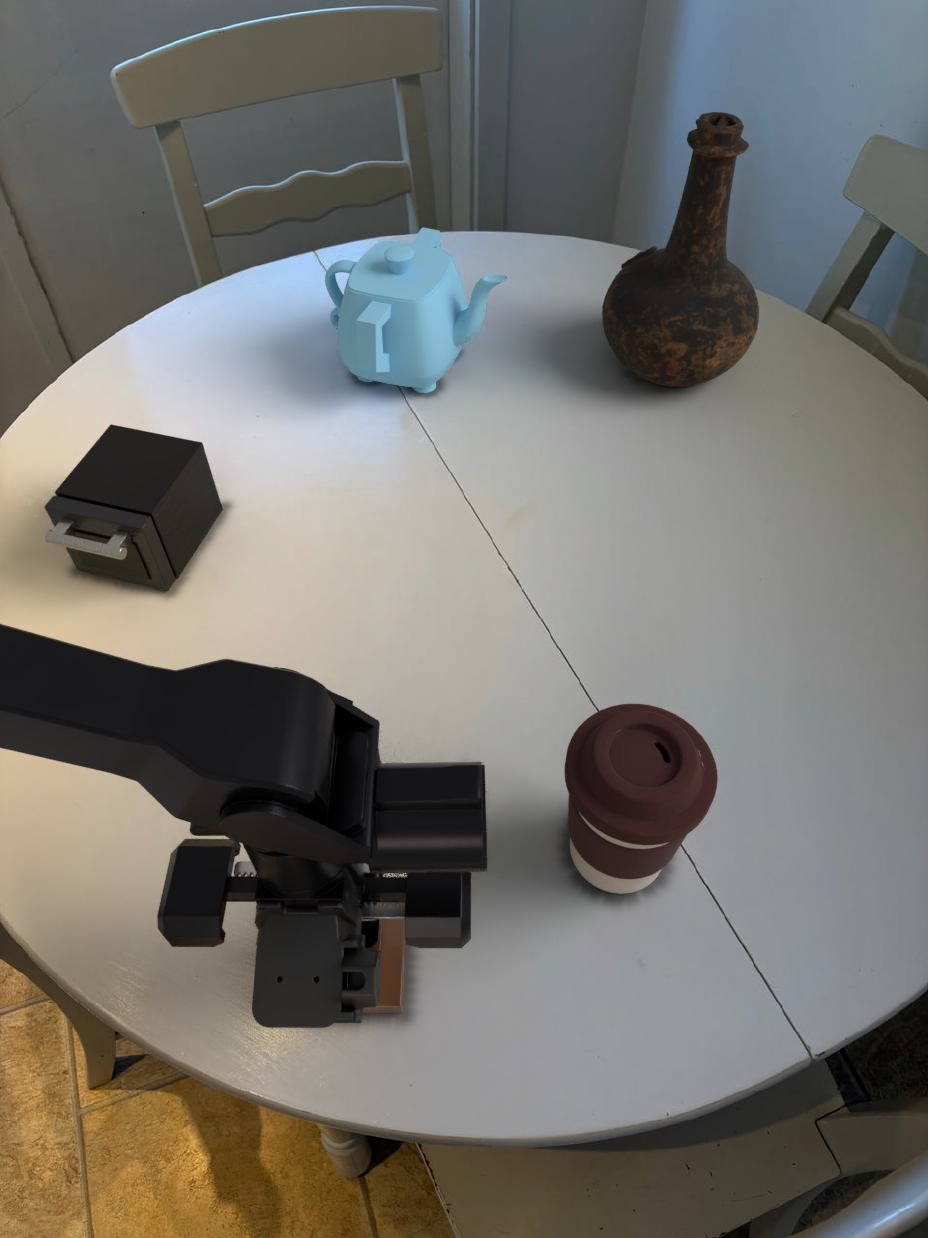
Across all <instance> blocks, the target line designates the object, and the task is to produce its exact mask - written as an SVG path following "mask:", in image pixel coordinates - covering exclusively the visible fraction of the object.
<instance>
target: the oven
mask: <svg viewBox="0 0 928 1238" xmlns="http://www.w3.org/2000/svg"><path fill="white" fill-rule="evenodd" d="M54 494H55V496H58V497H63V498H68V499H72V500H77V501H81V502H86V503H90V504H95V505H100V506H104V507H109V508H113V509H118V510H123V511H127V512H132V513H136V514H141V515H145V516H150V517H151V519H152V522H153V524H154V527H155V529H156V532H157V534H158V537H159V539H160V542H161V544H162V546H163V549H164V551H165V554H166V556H167V559H168V561H169V564H170V566H171V569H172V571H173V574H174V576H175V579H176V580H177V579H179V578H180V577H181V574H182V573H183V572H184V570H185V568H186V567H187V565H188V564H189V562H190V561H191V559H192V558H193V556H194V555H195V553H196V552H197V550H198V549H199V547H200V546H201V544H202V542H203V541H204V539H206V536H207V535H208V533H209V532H210V530H211V528H212V527H213V525H214V524H215V522H216V521H217V519H218V518H219V516H220V515H221V514H222V513H223V512H222V511H223V510H224V507H223V504H222V502H221V499H220V498H221V497H220V495H219V491H218V489H217V486H216V482H215V479H214V476H213V473H212V469H211V466H210V463H209V460H208V457H207V454H206V450H205V447H204V443H203V442H201V441H198V440H197V441H196V440H192V439H187V438H181V437H177V436H172V435H166V434H162V433H156V432H151V431H146V430H141V429H137V428H132V427H126V426H121V425H117V424H112V423H111V424H110V425H109V426H108V427H107V428H106V430H105V431H104V432H103V433H102V434H101V435H100V437H99V438H98V439H97V440H96V441H95V442H94V444H93V445H92V446H91V447H90V449H89V450H88V451H87V452H86V453H85V454H84V456H83V457H82V458H81V459H80V460H79V462H78V463H77V464H76V466H75V467H74V468H73V469H71V472H69V474H68V475H67V476H66V477H65V479H63V481H62V482H61V483H60V485H59V486H58V487H57V488H56V489H55V491H54Z"/></svg>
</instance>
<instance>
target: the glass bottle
mask: <svg viewBox="0 0 928 1238" xmlns="http://www.w3.org/2000/svg"><path fill="white" fill-rule="evenodd" d="M695 125H696V128H694V129H691V130H690V131H689V132H688V134H687V138H686V142H687V146H688V147H689V148H690V149H691V150H692V153H691V158H690V161H689V166H688V170H687V175H686V179H685V182H684V187H683V191H682V194H681V198H680V203H679V206H678V209H677V213H676V216H675V220H674V223H673V226H672V229H671V232H670V235H669V238H668V241H667V242H666V245H665V247H663V248H659V249H658V247H657V246H656V245H653V246H651V247H649V248H647V249H645V250H644V251H642V250H641V251H639V252H637V253H636V254H635V255H634V256H633V257H631V258H629V259H626V261H624V263H621V266H620V268H621V269H620V270H619V272H618V273H617V274H616V275H615V276H614V278H613V279H612V281H611V282H610V285H609V287H608V288H607V291H606V292H605V293H606V294H605V295H604V299H603V303H602V310H601V317H602V318H601V320H602V327H603V331H604V335H605V338H606V341H607V343H608V345H609V347H610V349H611V351H612V352H613V354H614V355H615V357H616V358H617V359H618V361H619V362H620V363H621V364H622V365H623V366H624V367H625V368H626V369H627V370H628V371H630V372H631V373H632V374H633V375H635V376H636V377H638V378H640V379H642V380H644V381H646V382H649V383H652V384H655V385H658V386H659V385H660V386H663V387H674V388H677V387H678V388H679V387H680V388H681V387H690V386H691V387H692V386H696V385H700V384H704V383H706V382H709V381H712V380H715V379H717V378H718V377H720V376H722V375H724V374H725V373H726V372H727V371H729V370H730V369H732V368H733V367H734V366H735V365H736V364H738V362H739V361H740V360H741V359H742V358H743V357H744V356H745V355H746V354H747V352H748V351H749V349H750V347H751V346H752V343H753V342H754V339H755V337H756V334H757V331H758V329H759V328H758V326H759V321H760V320H759V319H760V306H759V300H758V296H757V293H756V290H755V287H754V286H753V284H752V282H751V281H750V279H749V277H747V276H746V274H745V273H744V272H743V271H742V270H741V269H740V268H739V267H738V266H737V265H736V264H734V263H733V262H732V261H730V260H728V255H727V254H728V253H727V233H728V222H729V211H730V201H731V195H732V188H733V182H734V175H735V170H736V164H737V158H738V156H739V155H741V154H745V152H747V151H748V149H749V147H750V144H749V142H748V141H747V140H745V139H744V138H743V137H742V134H743V131H744V128H745V125H744V123H743V121H742V120H741V119H740V118H739V116H737V115H735V114H732V113H728V112H722V111H710V112H706V113H701V114H700V116H699V117H698V118H697V119H695Z"/></svg>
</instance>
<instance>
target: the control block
mask: <svg viewBox="0 0 928 1238" xmlns="http://www.w3.org/2000/svg"><path fill="white" fill-rule="evenodd" d="M389 903H390V902H386V904H387V906H389ZM382 904H383V902H381V906H382ZM395 904H396V903H393V906H395ZM399 904H400V906H402V903H399ZM406 945H407V944H406V942H405V918H404V919H380V929H379V937H378V941H377V943H376V944H375V946H373V947H372V948H369V949H368V950H379V951H380V952H381V975H380V999H379V1004H378V1005H377V1006H376V1007H375V1008H363V1011H362V1014H403V1011H404V1009H403V1008H404V989H405V988H404V987H405V969H406V968H405V967H406V948H407V946H406Z"/></svg>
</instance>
